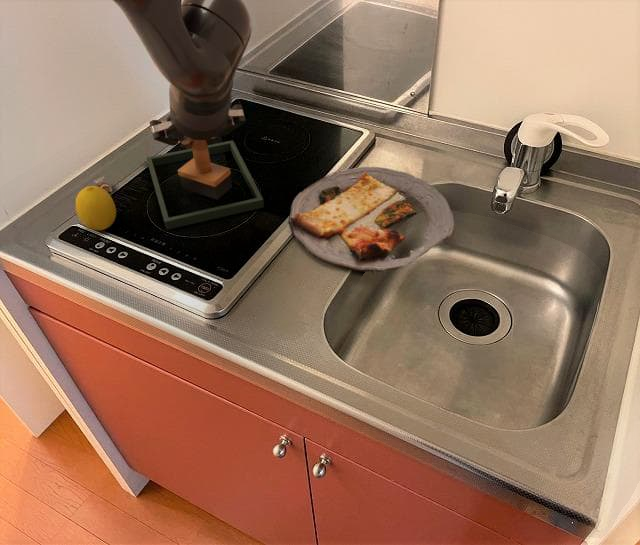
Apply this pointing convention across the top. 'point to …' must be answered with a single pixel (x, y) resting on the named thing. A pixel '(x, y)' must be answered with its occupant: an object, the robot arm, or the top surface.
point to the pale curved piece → (104, 185)
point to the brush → (204, 173)
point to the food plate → (354, 203)
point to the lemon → (95, 208)
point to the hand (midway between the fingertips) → (196, 140)
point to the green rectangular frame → (212, 212)
